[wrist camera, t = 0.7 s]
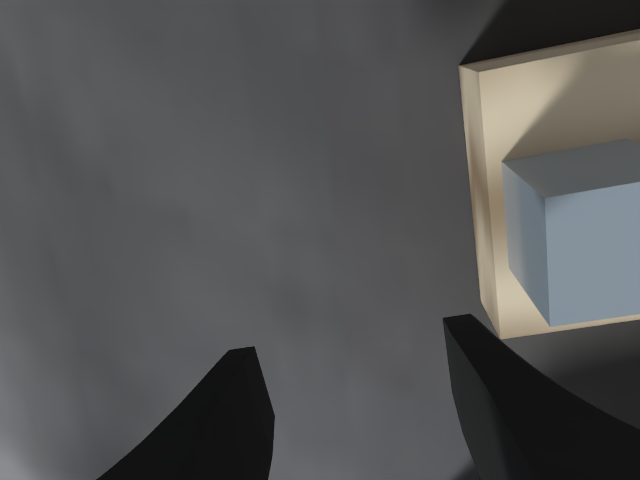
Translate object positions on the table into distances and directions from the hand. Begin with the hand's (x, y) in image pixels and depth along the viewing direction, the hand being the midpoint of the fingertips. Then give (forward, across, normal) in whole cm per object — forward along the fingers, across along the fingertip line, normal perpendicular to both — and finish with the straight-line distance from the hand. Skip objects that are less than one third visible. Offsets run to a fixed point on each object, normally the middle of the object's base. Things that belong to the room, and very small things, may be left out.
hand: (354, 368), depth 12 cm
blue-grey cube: (+7, -8, 0) cm, 11 cm away
